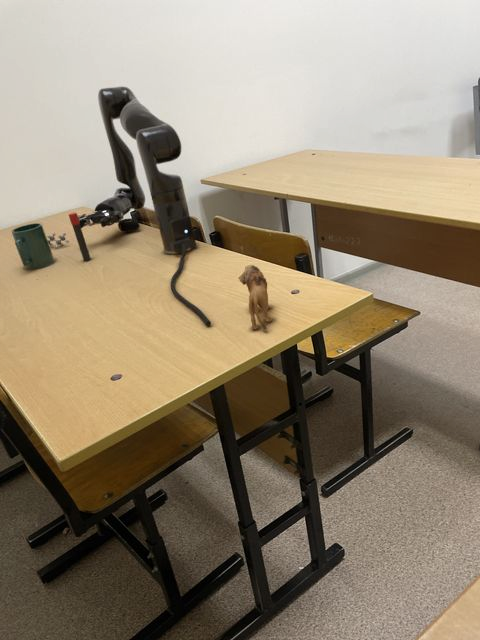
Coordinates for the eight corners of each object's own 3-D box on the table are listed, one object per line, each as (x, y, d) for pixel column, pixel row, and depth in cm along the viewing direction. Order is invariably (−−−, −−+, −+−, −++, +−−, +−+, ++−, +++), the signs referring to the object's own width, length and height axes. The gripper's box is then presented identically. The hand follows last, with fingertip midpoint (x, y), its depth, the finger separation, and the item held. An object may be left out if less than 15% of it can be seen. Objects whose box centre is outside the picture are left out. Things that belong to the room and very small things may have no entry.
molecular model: (31, 251, 177) (26, 236, 175) (38, 246, 181) (33, 232, 179) (67, 248, 174) (62, 233, 172) (73, 244, 177) (68, 229, 175)
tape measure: (140, 230, 178) (138, 220, 177) (121, 235, 177) (118, 224, 175) (138, 226, 184) (135, 216, 182) (119, 231, 183) (116, 220, 181)
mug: (33, 261, 166) (20, 225, 161) (59, 257, 165) (46, 221, 160) (14, 275, 155) (-1, 237, 150) (41, 272, 154) (27, 234, 149)
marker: (92, 259, 158) (77, 213, 151) (84, 261, 157) (69, 215, 150) (89, 258, 160) (75, 212, 153) (82, 260, 159) (67, 214, 152)
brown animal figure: (242, 305, 111) (235, 265, 107) (267, 300, 112) (261, 260, 108) (253, 335, 99) (245, 290, 94) (281, 329, 99) (274, 284, 95)
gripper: (88, 201, 174) (64, 215, 160) (127, 197, 171) (107, 210, 157) (94, 224, 178) (72, 239, 164) (133, 219, 174) (114, 235, 161)
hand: (89, 225), depth 160 cm, fingers open, 8 cm apart
